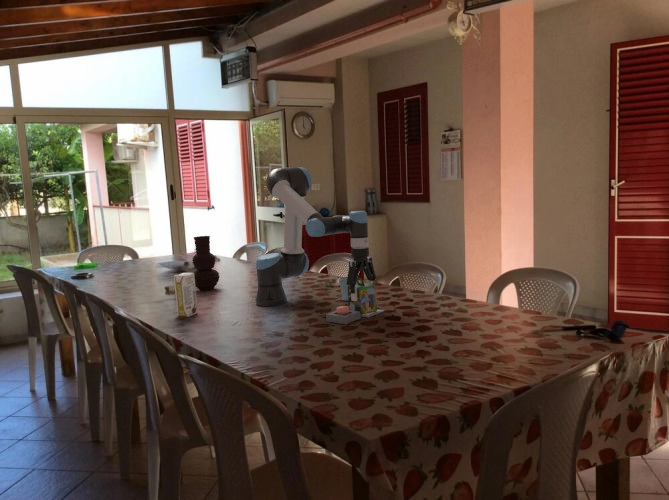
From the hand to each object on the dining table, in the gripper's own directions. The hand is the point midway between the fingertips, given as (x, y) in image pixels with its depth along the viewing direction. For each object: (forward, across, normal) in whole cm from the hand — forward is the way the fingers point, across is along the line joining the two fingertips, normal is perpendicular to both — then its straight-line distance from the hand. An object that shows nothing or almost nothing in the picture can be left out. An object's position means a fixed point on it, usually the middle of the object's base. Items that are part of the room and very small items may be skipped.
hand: (362, 297), depth 247 cm
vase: (+7, +3, +110) cm, 110 cm away
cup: (+7, +18, +22) cm, 29 cm away
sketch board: (+6, 0, 0) cm, 6 cm away
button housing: (+6, -14, 0) cm, 15 cm away
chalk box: (+6, 0, 0) cm, 6 cm away
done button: (+4, -14, 0) cm, 15 cm away
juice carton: (+7, -39, +71) cm, 81 cm away
